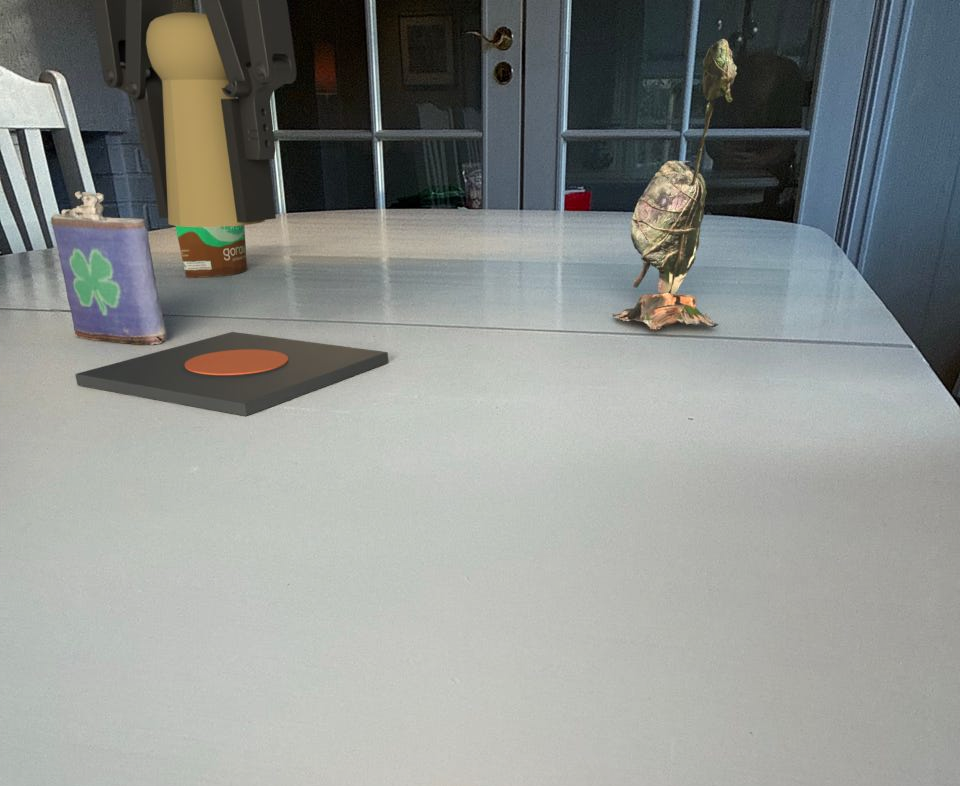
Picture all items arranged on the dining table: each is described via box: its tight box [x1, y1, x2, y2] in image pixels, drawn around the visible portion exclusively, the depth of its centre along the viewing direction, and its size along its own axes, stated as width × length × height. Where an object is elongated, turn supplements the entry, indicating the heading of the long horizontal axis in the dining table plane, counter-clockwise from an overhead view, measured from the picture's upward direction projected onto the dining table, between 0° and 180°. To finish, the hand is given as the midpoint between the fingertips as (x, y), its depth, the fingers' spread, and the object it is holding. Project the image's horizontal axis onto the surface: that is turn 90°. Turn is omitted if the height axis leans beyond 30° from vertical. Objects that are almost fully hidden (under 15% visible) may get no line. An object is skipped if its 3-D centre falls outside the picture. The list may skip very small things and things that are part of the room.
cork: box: [146, 11, 266, 227], centre depth 55 cm, size 6×6×11 cm
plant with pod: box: [611, 38, 738, 330], centre depth 71 cm, size 8×11×20 cm
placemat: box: [74, 331, 389, 417], centre depth 62 cm, size 15×15×1 cm
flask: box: [50, 190, 168, 346], centre depth 70 cm, size 9×3×11 cm, turn 63°
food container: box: [174, 225, 248, 278], centre depth 101 cm, size 12×6×10 cm, turn 171°
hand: (216, 217), depth 57 cm, fingers closed on cork, 6 cm apart
